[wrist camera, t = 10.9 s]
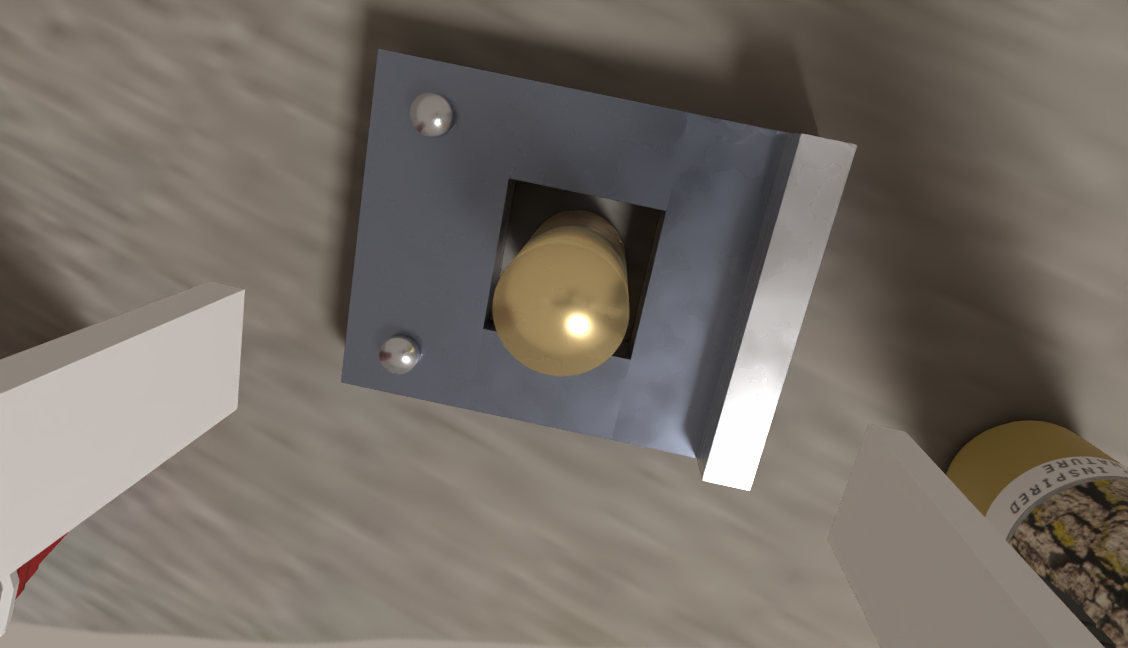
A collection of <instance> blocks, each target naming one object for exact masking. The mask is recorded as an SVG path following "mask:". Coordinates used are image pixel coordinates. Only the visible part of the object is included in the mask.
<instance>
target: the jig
mask: <svg viewBox="0 0 1128 648" xmlns="http://www.w3.org/2000/svg"><path fill="white" fill-rule="evenodd" d="M856 148H857V145H856V144H851V143H846V142H841V141H836V140H831V139H826V138H821V137H817V136H812V135H807V134H802V133H786V132H781V131H776V130H772V129H767V128H762V127H757V126H752V125H747V124H742V123H738V122H733V121H728V120H723V119H718V118H713V117H708V116H704V115H699V114H694V113H689V112H684V111H679V110H674V109H669V108H665V107H660V106H655V105H650V104H645V103H640V102H635V101H631V100H626V99H621V98H616V97H611V96H606V95H601V94H597V93H592V92H587V91H582V90H577V89H572V88H567V87H563V86H558V85H553V84H548V83H543V82H538V81H533V80H528V79H524V78H519V77H514V76H509V75H504V74H499V73H494V72H490V71H485V70H480V69H475V68H470V67H465V66H460V65H456V64H451V63H446V62H441V61H436V60H431V59H426V58H422V57H417V56H412V55H407V54H402V53H397V52H392V51H387V50H383V49H378V54H377V63H376V72H375V81H374V90H373V99H372V108H371V117H370V126H369V135H368V144H367V153H366V162H365V171H364V180H363V189H362V198H361V207H360V216H359V225H358V234H357V243H356V252H355V261H354V270H353V279H352V288H351V297H350V306H349V315H348V324H347V333H346V342H345V351H344V360H343V369H342V378H341V382H342V383H346V384H351V385H356V386H360V387H365V388H370V389H374V390H379V391H384V392H389V393H393V394H398V395H403V396H407V397H412V398H417V399H421V400H426V401H431V402H436V403H440V404H445V405H450V406H454V407H459V408H464V409H468V410H473V411H478V412H483V413H487V414H492V415H497V416H501V417H506V418H511V419H515V420H520V421H525V422H530V423H534V424H539V425H544V426H548V427H553V428H558V429H563V430H567V431H572V432H577V433H581V434H586V435H591V436H595V437H600V438H605V439H610V440H614V441H619V442H624V443H628V444H633V445H638V446H642V447H647V448H652V449H657V450H661V451H666V452H671V453H675V454H680V455H685V456H689V457H694V458H697V462H698V466H699V470H700V474H701V478H702V481H707V482H711V483H716V484H721V485H725V486H730V487H735V488H739V489H744V490H749V491H750V489H751V486H752V482H753V479H754V476H755V473H756V470H757V466H758V463H759V460H760V457H761V453H762V450H763V447H764V444H765V441H766V437H767V434H768V431H769V428H770V424H771V421H772V418H773V415H774V412H775V408H776V405H777V402H778V399H779V396H780V392H781V389H782V386H783V383H784V379H785V376H786V373H787V370H788V367H789V363H790V360H791V357H792V354H793V350H794V347H795V344H796V341H797V338H798V334H799V331H800V328H801V325H802V321H803V318H804V315H805V312H806V309H807V305H808V302H809V299H810V296H811V293H812V289H813V286H814V283H815V280H816V276H817V273H818V270H819V267H820V264H821V260H822V257H823V254H824V251H825V247H826V244H827V241H828V238H829V235H830V231H831V228H832V225H833V222H834V218H835V215H836V212H837V209H838V206H839V202H840V199H841V196H842V193H843V189H844V186H845V183H846V180H847V177H848V173H849V170H850V167H851V164H852V161H853V157H854V154H855V151H856ZM516 180H520V181H525V182H530V183H534V184H539V185H544V186H549V187H554V188H558V189H563V190H568V191H573V192H578V193H582V194H587V195H592V196H597V197H602V198H607V199H611V200H616V201H621V202H626V203H631V204H635V205H640V206H645V207H650V208H655V209H659V210H661V212H660V216H659V220H658V225H657V229H656V233H655V237H654V241H653V246H652V250H651V254H650V258H649V263H648V267H647V271H646V275H645V279H644V284H643V288H642V292H641V296H640V301H639V305H638V309H637V313H636V317H635V322H634V326H633V330H632V334H631V338H630V342H626V341H622V342H621V344H620V345H619V347H618V348H617V350H616V351H615V352H614V353H613V354H612V356H611V357H609V358H608V359H607V360H606V361H605V362H604V363H602V364H601V365H599V366H598V367H596V368H594V369H592V370H590V371H587V372H585V373H582V374H578V375H573V376H553V375H547V374H543V373H539V372H537V371H535V370H532V369H530V368H528V367H527V366H525V365H523V364H522V363H520V362H519V361H518V360H516V359H515V358H514V357H513V356H512V355H511V354H510V353H509V351H508V350H507V349H506V348H505V346H504V345H503V343H502V342H501V340H500V338H499V336H498V333H497V331H496V328H495V325H494V319H493V307H492V306H493V297H494V293H495V289H496V286H497V284H498V281H499V277H500V271H501V265H502V260H503V254H504V248H505V242H506V237H507V231H508V225H509V220H510V214H511V208H512V202H513V197H514V191H515V185H516Z"/></svg>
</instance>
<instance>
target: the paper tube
mask: <svg viewBox="0 0 1128 648" xmlns="http://www.w3.org/2000/svg"><path fill="white" fill-rule="evenodd" d="M946 476H947V477H948V478H949V479H950V480H951V481H952V482H953V483H954V485H955V486H956V487H957V488H958V489H959V490H960V491H961V492H962V493H963V494H964V495H965V496H966V498H967V499H968V500H969V501H970V502H971V503H972V504H973V505H974V506H975V507H976V508H977V509H978V511H979V512H980V513H981V514H982V515H983V516H984V517H985V518H986V519H987V520H988V521H989V523H990V524H991V525H992V526H993V527H994V528H995V529H996V530H997V531H998V532H999V533H1000V534H1001V536H1002V537H1003V538H1004V539H1005V540H1006V541H1007V542H1008V543H1009V544H1010V545H1011V546H1012V548H1013V549H1014V550H1015V551H1016V552H1017V553H1018V554H1019V555H1020V556H1021V557H1022V558H1023V559H1024V561H1025V562H1026V563H1027V564H1028V565H1029V566H1030V567H1031V568H1032V569H1033V570H1034V571H1035V572H1036V574H1039V575H1041V576H1042V577H1043V578H1045V579H1046V580H1047V581H1049V582H1050V583H1052V584H1053V585H1054V586H1056V587H1057V588H1058V589H1060V590H1061V591H1063V592H1064V593H1065V594H1067V595H1068V596H1069V597H1071V598H1072V599H1073V600H1074V601H1075V602H1076V603H1077V604H1078V605H1079V606H1080V607H1081V608H1082V609H1083V610H1084V611H1085V612H1086V614H1087V615H1088V616H1089V617H1090V618H1091V619H1092V620H1093V621H1094V622H1095V623H1096V628H1099V629H1102V630H1103V631H1104V633H1105V634H1106V635H1107V636H1108V637H1109V638H1110V639H1111V640H1112V641H1113V642H1114V643H1115V644H1116V648H1128V468H1127V467H1125V466H1123V465H1122V464H1120V463H1119V462H1117V461H1116V460H1114V459H1113V458H1111V457H1110V456H1108V455H1107V454H1105V453H1104V452H1102V451H1101V450H1099V449H1098V448H1096V447H1095V446H1093V445H1092V444H1090V443H1089V442H1087V441H1086V440H1084V439H1083V438H1081V437H1080V436H1078V435H1077V434H1075V433H1073V432H1072V431H1070V430H1068V429H1066V428H1064V427H1061V426H1059V425H1056V424H1053V423H1048V422H1043V421H1030V420H1027V421H1017V422H1011V423H1007V424H1003V425H999V426H996V427H993V428H991V429H989V430H986V431H984V432H983V433H981V434H979V435H977V436H976V437H974V438H973V439H972V440H970V441H969V442H968V443H967V444H966V445H965V446H964V447H963V448H962V449H961V450H960V451H959V452H958V453H957V455H956V456H955V457H954V459H953V460H952V462H951V464H950V466H949V468H948V471H947V473H946Z"/></svg>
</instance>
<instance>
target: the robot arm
mask: <svg viewBox="0 0 1128 648" xmlns="http://www.w3.org/2000/svg"><path fill="white" fill-rule="evenodd" d="M244 295H245V289H242V288H237V287H232V286H228V285H223V284H218V283H214V282H207V283H204V284H202V285H199V286H196V287H193V288H191V289H188V290H185V291H183V292H180V293H177V294H175V295H172V296H169V297H167V298H164V299H161V300H159V301H156V302H153V303H151V304H148V305H145V306H143V307H140V308H137V309H134V310H132V311H129V312H126V313H124V314H121V315H118V316H116V317H113V318H110V319H108V320H105V321H102V322H100V323H97V324H94V325H92V326H89V327H86V328H84V329H81V330H78V331H76V332H73V333H70V334H67V335H65V336H62V337H59V338H57V339H54V340H51V341H49V342H46V343H43V344H41V345H38V346H35V347H33V348H30V349H27V350H25V351H22V352H19V353H17V354H14V355H11V356H8V357H6V358H3V359H0V581H1V580H3V579H4V578H6V577H7V576H8V575H10V574H11V573H12V572H14V571H15V570H17V569H18V568H19V567H21V566H22V565H23V564H25V563H26V562H28V561H29V560H30V559H32V558H33V557H34V556H36V555H37V554H39V553H40V552H41V551H43V550H44V549H45V548H47V547H48V546H50V545H51V544H52V543H54V542H55V541H56V540H58V539H59V538H61V537H62V536H63V535H65V534H66V533H67V532H69V531H70V530H72V529H73V528H74V527H76V526H77V525H78V524H80V523H81V522H83V521H84V520H85V519H87V518H88V517H89V516H91V515H92V514H93V513H95V512H96V511H98V510H99V509H100V508H102V507H103V506H104V505H106V504H107V503H109V502H110V501H111V500H113V499H114V498H115V497H117V496H118V495H120V494H121V493H122V492H124V491H125V490H126V489H128V488H129V487H131V486H132V485H133V484H135V483H136V482H137V481H139V480H140V479H142V478H143V477H144V476H146V475H147V474H148V473H150V472H151V471H153V470H154V469H155V468H157V467H158V466H159V465H161V464H162V463H164V462H165V461H166V460H168V459H169V458H170V457H172V456H173V455H175V454H176V453H177V452H179V451H180V450H181V449H183V448H184V447H186V446H187V445H188V444H190V443H191V442H192V441H194V440H195V439H197V438H198V437H199V436H201V435H202V434H203V433H205V432H206V431H207V430H209V429H210V428H212V427H213V426H214V425H216V424H217V423H218V422H220V421H221V420H223V419H224V418H225V417H227V416H228V415H229V414H231V413H232V412H234V411H235V410H236V409H237V404H238V389H239V373H240V357H241V342H242V326H243V311H244ZM828 541H829V543H830V545H831V547H832V549H833V551H834V553H835V555H836V557H837V559H838V561H839V563H840V565H841V567H842V570H843V572H844V574H845V576H846V578H847V580H848V582H849V584H850V586H851V588H852V590H853V592H854V594H855V596H856V598H857V600H858V602H859V604H860V606H861V608H862V610H863V612H864V614H865V616H866V618H867V620H868V622H869V625H870V627H871V629H872V631H873V633H874V635H875V637H876V639H877V641H878V643H879V645H880V647H881V648H1116V644H1115V643H1114V642H1113V641H1112V640H1111V639H1110V638H1109V637H1108V636H1107V635H1106V634H1105V633H1104V631H1103V630H1102V629H1099V628H1096V623H1095V622H1094V621H1093V620H1092V619H1091V618H1090V617H1089V616H1088V615H1087V614H1086V612H1085V611H1084V610H1083V609H1082V608H1081V607H1080V606H1079V605H1078V604H1077V603H1076V602H1075V601H1074V600H1073V599H1072V598H1071V597H1069V596H1068V595H1067V594H1065V593H1064V592H1063V591H1061V590H1060V589H1058V588H1057V587H1056V586H1054V585H1053V584H1052V583H1050V582H1049V581H1047V580H1046V579H1045V578H1043V577H1042V576H1041V575H1039V574H1036V572H1035V571H1034V570H1033V569H1032V568H1031V567H1030V566H1029V565H1028V564H1027V563H1026V562H1025V561H1024V559H1023V558H1022V557H1021V556H1020V555H1019V554H1018V553H1017V552H1016V551H1015V550H1014V549H1013V548H1012V546H1011V545H1010V544H1009V543H1008V542H1007V541H1006V540H1005V539H1004V538H1003V537H1002V536H1001V534H1000V533H999V532H998V531H997V530H996V529H995V528H994V527H993V526H992V525H991V524H990V523H989V521H988V520H987V519H986V518H985V517H984V516H983V515H982V514H981V513H980V512H979V511H978V509H977V508H976V507H975V506H974V505H973V504H972V503H971V502H970V501H969V500H968V499H967V498H966V496H965V495H964V494H963V493H962V492H961V491H960V490H959V489H958V488H957V487H956V486H955V485H954V483H953V482H952V481H951V480H950V479H949V478H948V477H947V476H946V475H945V474H944V473H943V471H942V470H941V469H940V468H939V467H938V466H937V465H936V464H935V463H934V462H933V461H932V460H931V458H930V457H929V456H928V455H927V454H926V453H925V452H924V451H923V450H922V449H921V448H920V446H919V445H918V444H917V443H916V442H915V441H914V440H913V439H912V438H911V437H910V436H909V435H908V433H907V432H904V431H900V430H895V429H890V428H886V427H881V426H877V425H872V424H868V427H867V430H866V433H865V435H864V438H863V441H862V444H861V447H860V449H859V452H858V455H857V458H856V461H855V463H854V466H853V469H852V472H851V475H850V478H849V480H848V483H847V486H846V489H845V492H844V494H843V497H842V500H841V503H840V506H839V508H838V511H837V514H836V517H835V520H834V522H833V525H832V528H831V531H830V534H829V536H828Z"/></svg>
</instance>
